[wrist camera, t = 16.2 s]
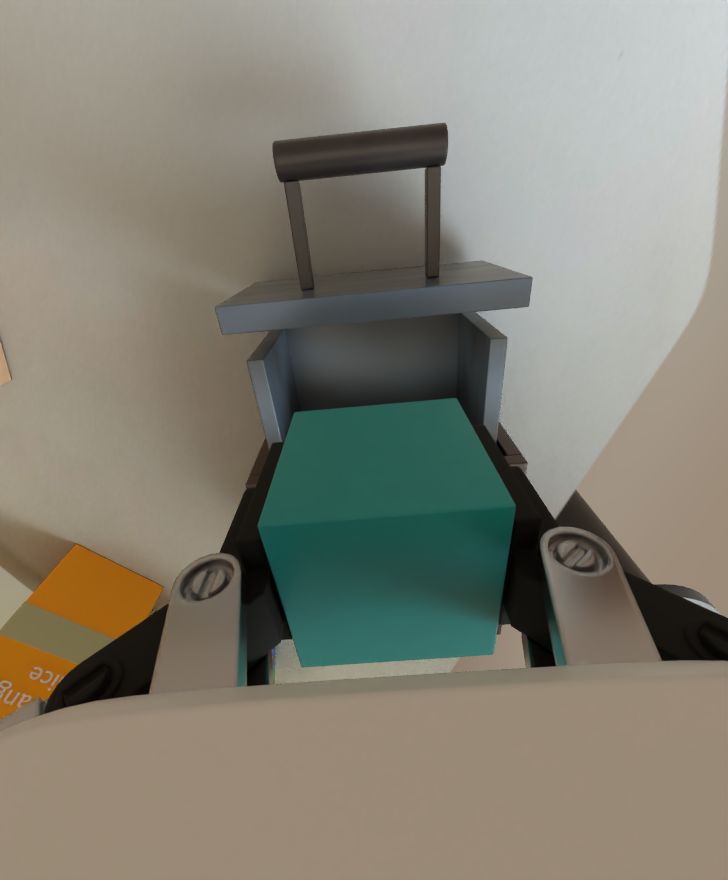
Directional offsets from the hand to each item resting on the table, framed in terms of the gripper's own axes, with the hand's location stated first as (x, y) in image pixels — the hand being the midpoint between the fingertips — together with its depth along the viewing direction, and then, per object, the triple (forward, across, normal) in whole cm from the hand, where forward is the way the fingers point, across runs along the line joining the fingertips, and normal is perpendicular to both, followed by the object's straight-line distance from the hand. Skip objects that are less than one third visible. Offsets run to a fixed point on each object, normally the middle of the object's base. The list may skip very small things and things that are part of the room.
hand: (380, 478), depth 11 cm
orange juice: (+16, +28, +22) cm, 39 cm away
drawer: (+15, 0, 0) cm, 15 cm away
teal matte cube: (0, 0, 0) cm, 0 cm away
